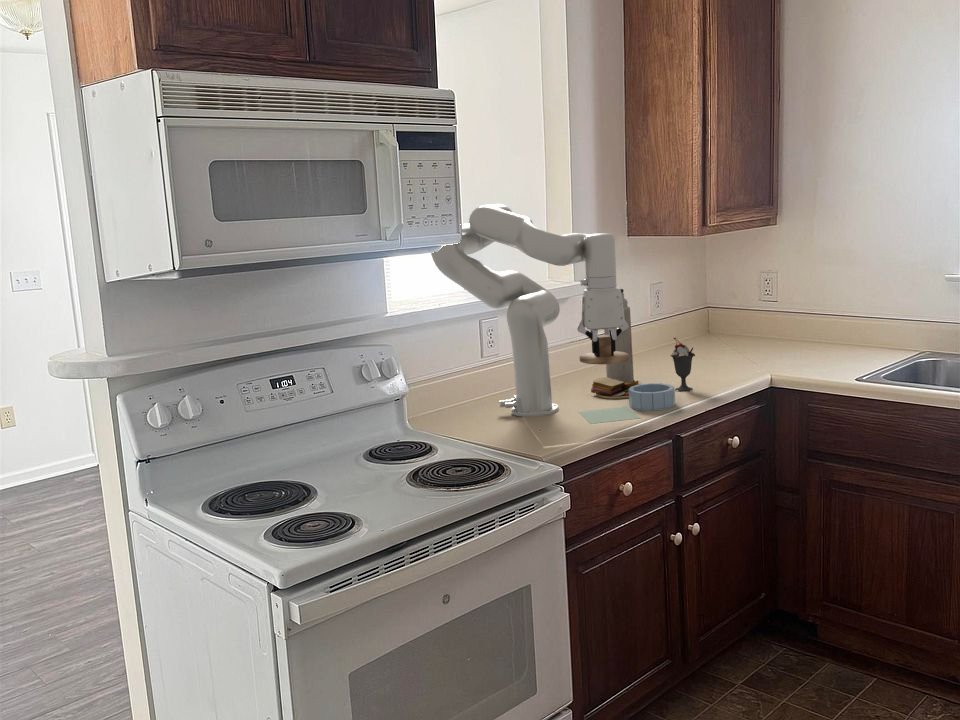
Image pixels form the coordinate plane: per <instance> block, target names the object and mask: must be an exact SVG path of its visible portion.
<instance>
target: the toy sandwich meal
mask: <svg viewBox="0 0 960 720" xmlns="http://www.w3.org/2000/svg"><path fill="white" fill-rule="evenodd" d="M635 385H639V380H635V381H633V382H631V383H625V382H623V381H619V380H615V379H611V378H608V377H607V376H606V377H599V378H595V379H594V380H593V383H592V384H591V388H590V393H592V394H595V395H596V397H598V398H601V399H605V400H606V399H607V400H623V399H625V400H626V399H629V390H628V389H629V388H630V387H632V386H635Z"/></svg>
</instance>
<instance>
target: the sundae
mask: <svg viewBox="0 0 960 720" xmlns="http://www.w3.org/2000/svg"><path fill="white" fill-rule="evenodd" d="M672 339H673V340H675V341H676V344H675V345H674V349H673V350H672V353H671V355H670V357H671V358H672V361H673V366H674V369H675V370H674V371H675V373H676V375H677V376H678V377H679V378H681V382H680V383H681V384H680V386H679V387H675V388H674V391H676V390H678V391H677V392H681V391H685V392H691V391H693V390H694V389H693V387H690V386H688V385H687V381H686V379H687V377H688V376H689V375H690V374H691V373H692V371H691V370H692V364H693V363H692V362H693V358H694V357H696V355H695V353H694V352H693V350H694V347H691V349H689V346H687V345H685V344H683V343H682V342H680V341H679V340H678V339H677V337H673V338H672ZM690 390H691V391H690Z"/></svg>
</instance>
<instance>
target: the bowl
mask: <svg viewBox="0 0 960 720" xmlns="http://www.w3.org/2000/svg"><path fill="white" fill-rule="evenodd" d="M628 390H629V398H628V403H629V408H631V410H636V411H644V412H645V411H646V412H653V411H655V412H657V411H662V410H669V409H671V408H673V407H674V406H675V403H676V398H675V397H676V395H675V386H673V385H672V384H667V383H661V382H659V383H658V382H656V383H655V382H653V383H652V382H651V383H650V382H649V383H641V384H640V383H638V385H635V386H632V387H630V388H629V389H628Z"/></svg>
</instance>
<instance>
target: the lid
mask: <svg viewBox="0 0 960 720" xmlns="http://www.w3.org/2000/svg"><path fill="white" fill-rule="evenodd" d="M597 339H598V341H599V351H600V356H599V357H596V356H595V355H594V353H592V351H591V352H586V353H583V354H580V355H579V362H581V363H583V364H587V365H606V364H615V363H621V362H625V361H627V360H629V354H628V353H625V352H619V351H615V352H614V356H611V337H610V336H609V335H604V334H603V335H602V334H601V335H597Z"/></svg>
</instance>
